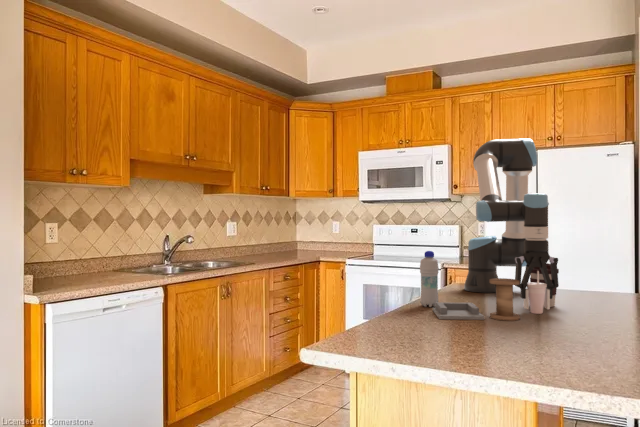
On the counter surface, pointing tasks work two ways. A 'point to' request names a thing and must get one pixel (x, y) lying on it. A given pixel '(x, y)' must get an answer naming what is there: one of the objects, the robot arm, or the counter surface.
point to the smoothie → (536, 296)
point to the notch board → (457, 311)
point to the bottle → (429, 280)
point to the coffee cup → (541, 280)
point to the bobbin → (504, 299)
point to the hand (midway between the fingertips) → (536, 308)
